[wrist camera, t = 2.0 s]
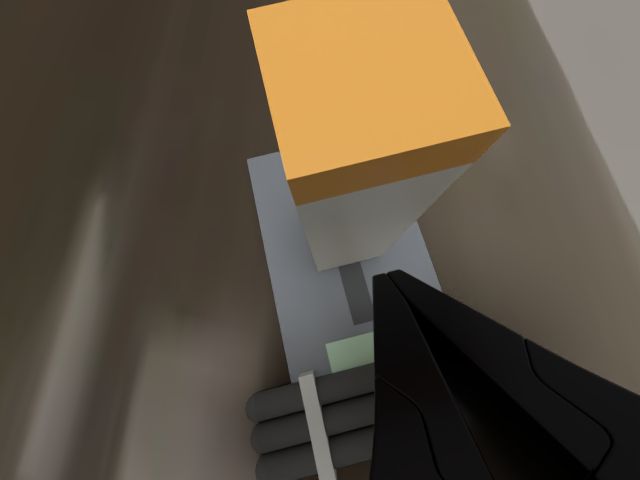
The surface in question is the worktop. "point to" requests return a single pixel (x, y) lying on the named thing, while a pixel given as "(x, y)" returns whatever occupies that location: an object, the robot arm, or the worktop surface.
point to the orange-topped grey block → (371, 114)
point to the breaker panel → (323, 281)
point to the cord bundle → (314, 424)
